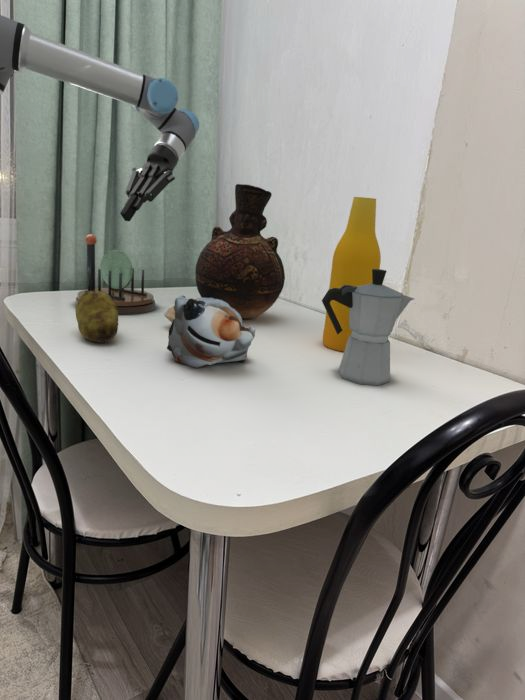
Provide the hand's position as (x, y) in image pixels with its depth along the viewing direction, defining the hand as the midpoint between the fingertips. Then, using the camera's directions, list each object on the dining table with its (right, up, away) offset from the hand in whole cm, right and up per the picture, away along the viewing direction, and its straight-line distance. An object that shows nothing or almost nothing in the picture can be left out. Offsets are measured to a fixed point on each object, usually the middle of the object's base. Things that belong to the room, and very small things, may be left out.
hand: (124, 217), depth 128 cm
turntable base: (0, -23, -8) cm, 24 cm away
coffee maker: (+51, -38, -43) cm, 77 cm away
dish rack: (0, -21, -8) cm, 23 cm away
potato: (+4, -31, -34) cm, 46 cm away
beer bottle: (+51, -33, -25) cm, 66 cm away
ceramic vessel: (+29, -26, -7) cm, 39 cm away
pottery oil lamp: (+19, -30, -24) cm, 43 cm away
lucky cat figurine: (+26, -36, -42) cm, 61 cm away
